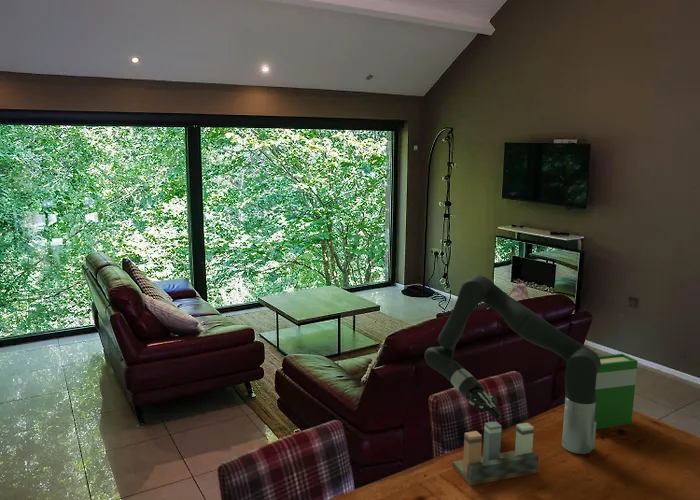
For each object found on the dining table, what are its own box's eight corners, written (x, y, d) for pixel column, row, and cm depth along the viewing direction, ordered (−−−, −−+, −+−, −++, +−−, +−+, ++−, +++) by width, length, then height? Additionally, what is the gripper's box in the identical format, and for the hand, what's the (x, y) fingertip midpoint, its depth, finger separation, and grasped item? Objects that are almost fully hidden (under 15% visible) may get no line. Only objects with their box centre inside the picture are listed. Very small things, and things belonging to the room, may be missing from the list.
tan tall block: (474, 467, 168) (476, 430, 166) (480, 473, 166) (482, 435, 164) (462, 469, 167) (464, 432, 165) (467, 475, 164) (469, 437, 162)
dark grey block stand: (515, 454, 180) (517, 438, 179) (537, 472, 169) (538, 456, 168) (452, 465, 173) (452, 449, 172) (470, 485, 162) (471, 468, 161)
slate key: (494, 457, 175) (496, 421, 173) (499, 462, 172) (501, 425, 170) (482, 459, 173) (484, 423, 171) (488, 464, 170) (490, 427, 168)
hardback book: (590, 429, 197) (595, 365, 193) (576, 420, 204) (581, 357, 200) (631, 423, 201) (637, 360, 197) (616, 414, 208) (622, 353, 204)
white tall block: (525, 458, 174) (527, 422, 172) (531, 463, 171) (534, 427, 169) (514, 460, 173) (516, 424, 171) (520, 465, 170) (522, 429, 168)
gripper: (457, 377, 193) (491, 411, 180) (482, 374, 201) (517, 406, 188) (449, 394, 196) (482, 429, 183) (474, 390, 203) (508, 423, 191)
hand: (499, 417), depth 186 cm, fingers closed
